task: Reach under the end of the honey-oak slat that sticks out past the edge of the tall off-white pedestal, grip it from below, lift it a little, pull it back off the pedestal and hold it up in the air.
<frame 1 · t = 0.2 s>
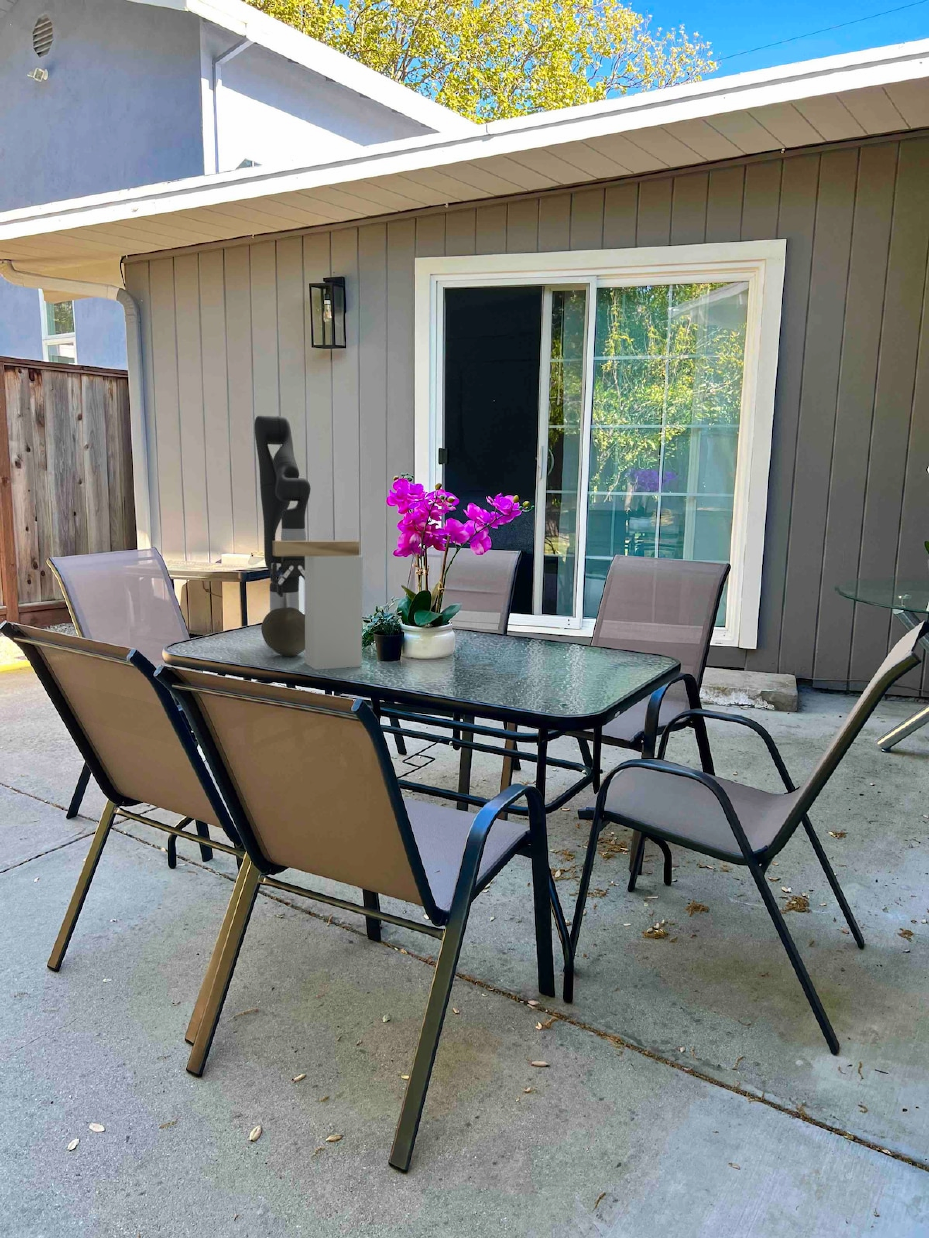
hand: (294, 596, 271), 17 cm above the table, tool pointing down, fingers open, 8 cm apart
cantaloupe: (286, 656, 266), on the table
pedestal: (333, 664, 256), on the table
oak slat: (316, 555, 248), point 32 cm above the table, touching pedestal
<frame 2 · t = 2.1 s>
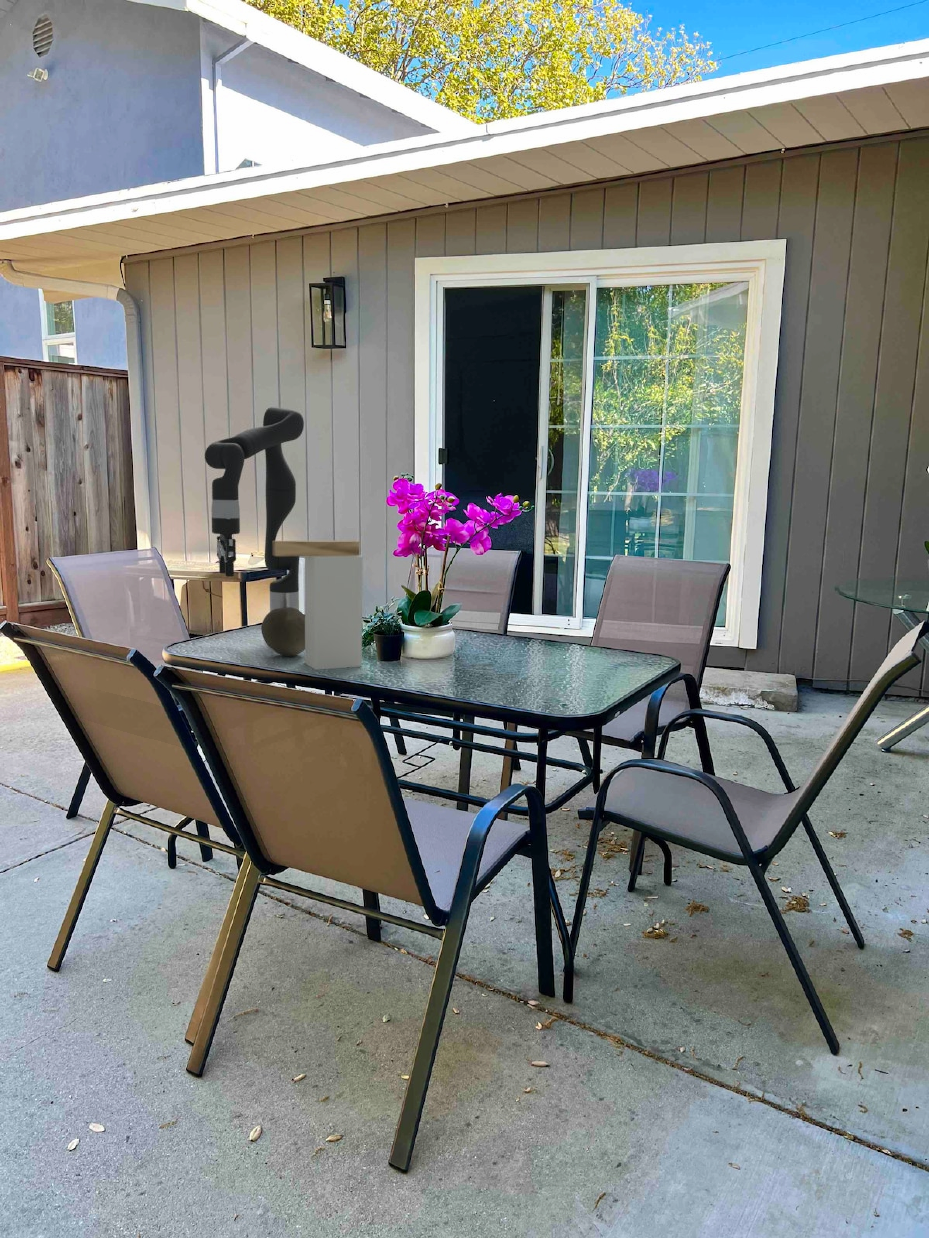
hand: (226, 574, 245), 26 cm above the table, tool pointing down, fingers open, 8 cm apart
nothing on the table moved.
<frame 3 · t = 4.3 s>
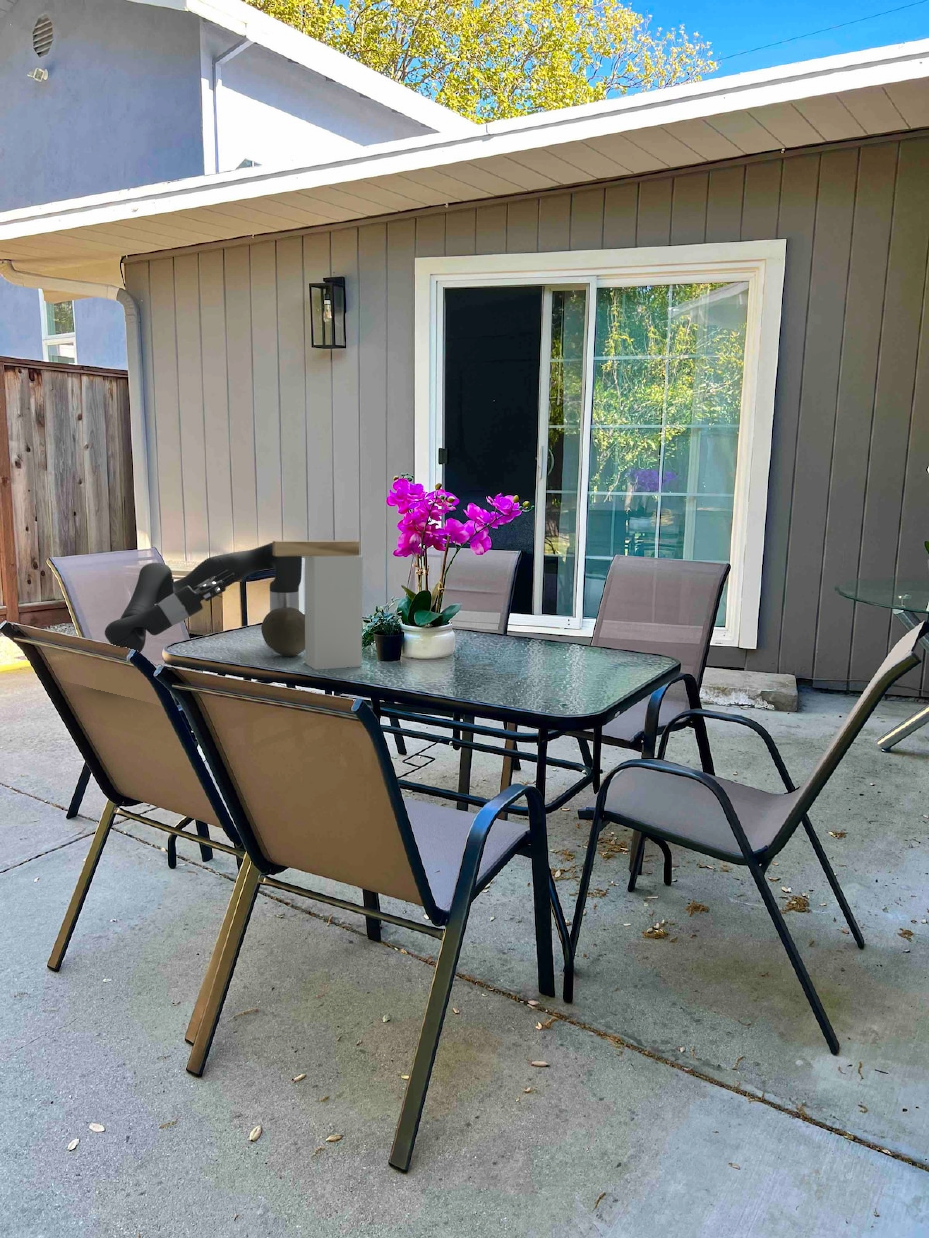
hand: (233, 574, 239), 27 cm above the table, tool pointing upward, fingers open, 8 cm apart
nothing on the table moved.
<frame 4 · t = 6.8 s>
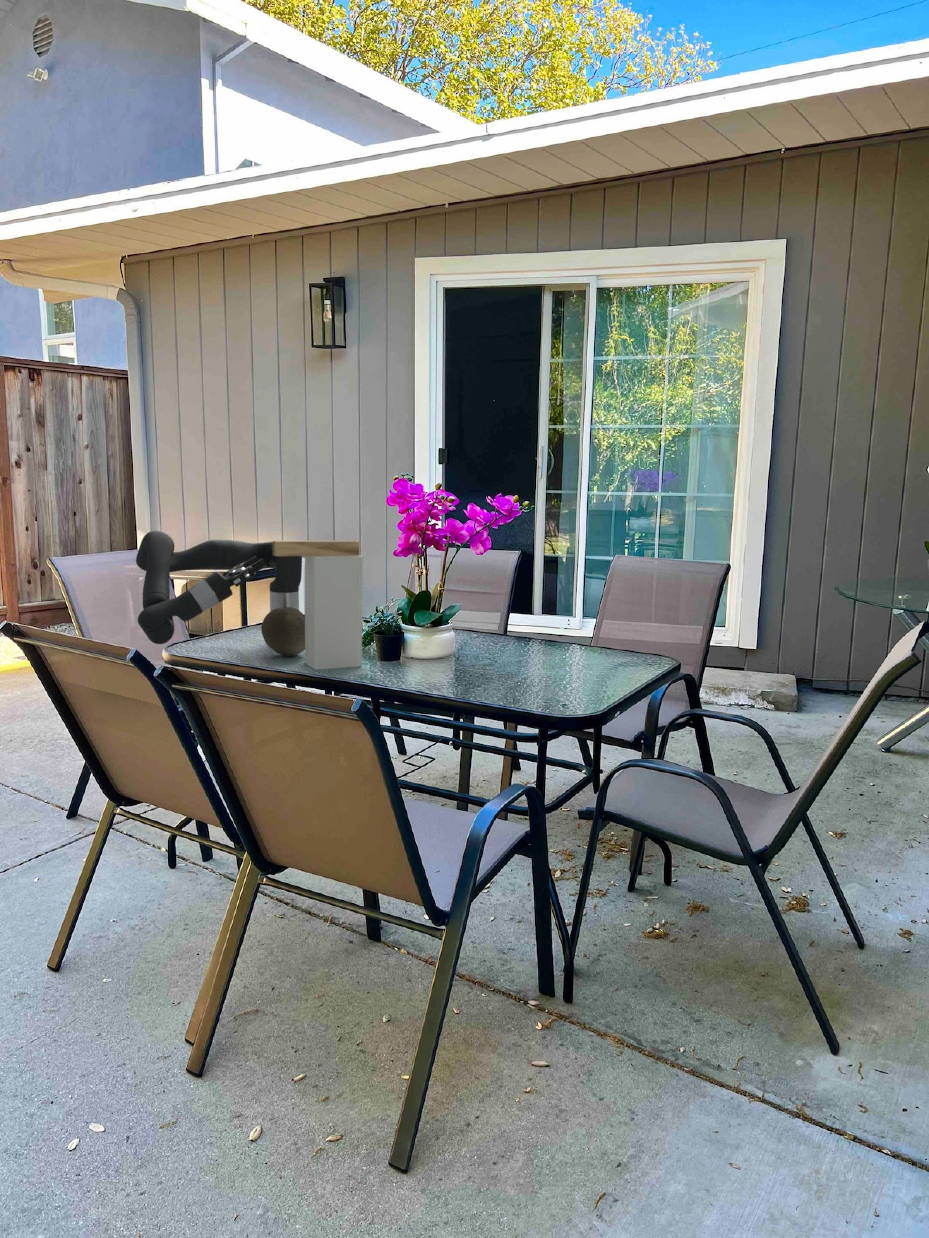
hand: (261, 560, 241), 31 cm above the table, tool pointing upward, fingers open, 8 cm apart
nothing on the table moved.
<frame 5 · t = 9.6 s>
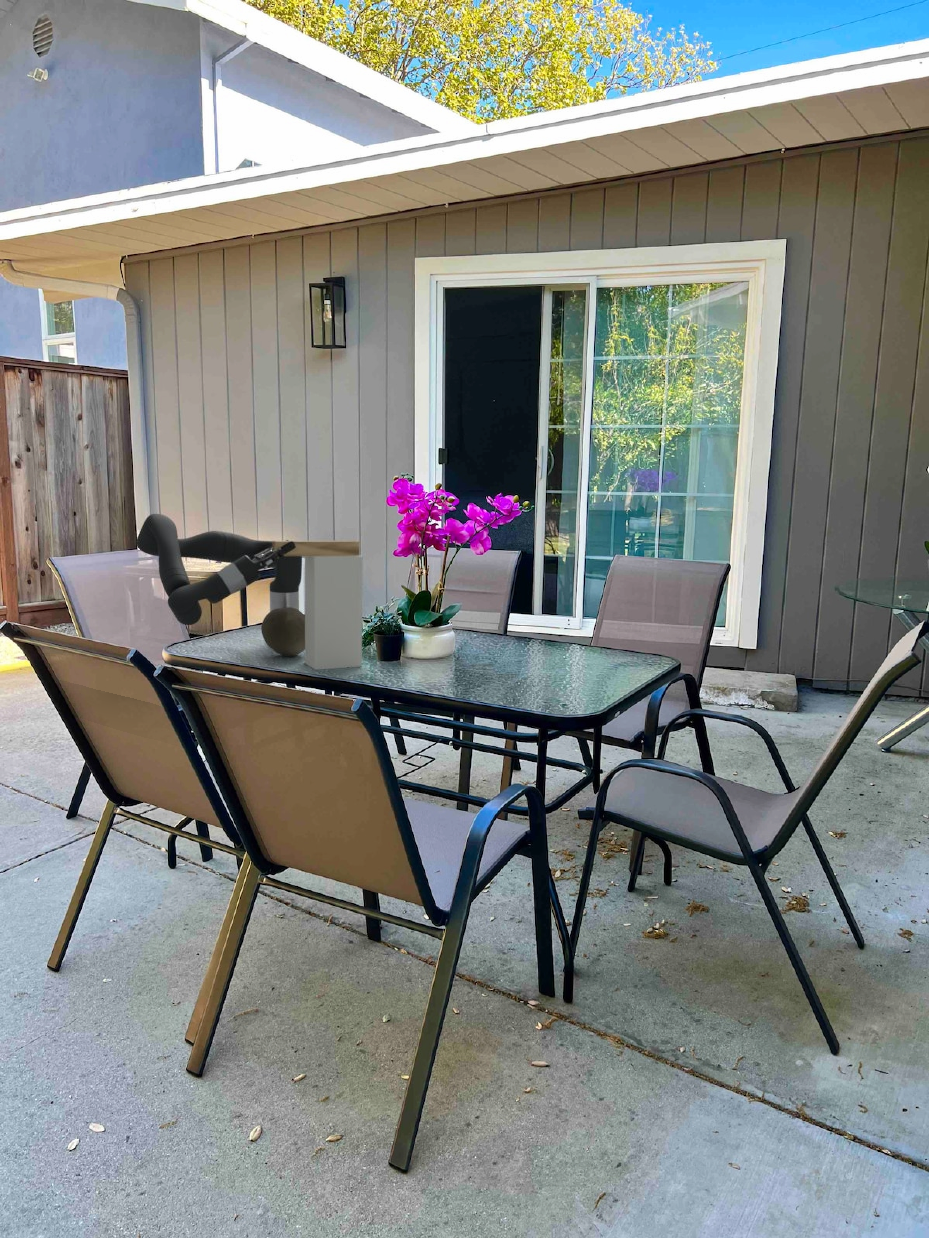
hand: (291, 543, 245), 35 cm above the table, tool pointing upward, fingers closed on oak slat, 4 cm apart
oak slat: (316, 555, 249), point 32 cm above the table, touching gripper, pedestal
everything else where it was.
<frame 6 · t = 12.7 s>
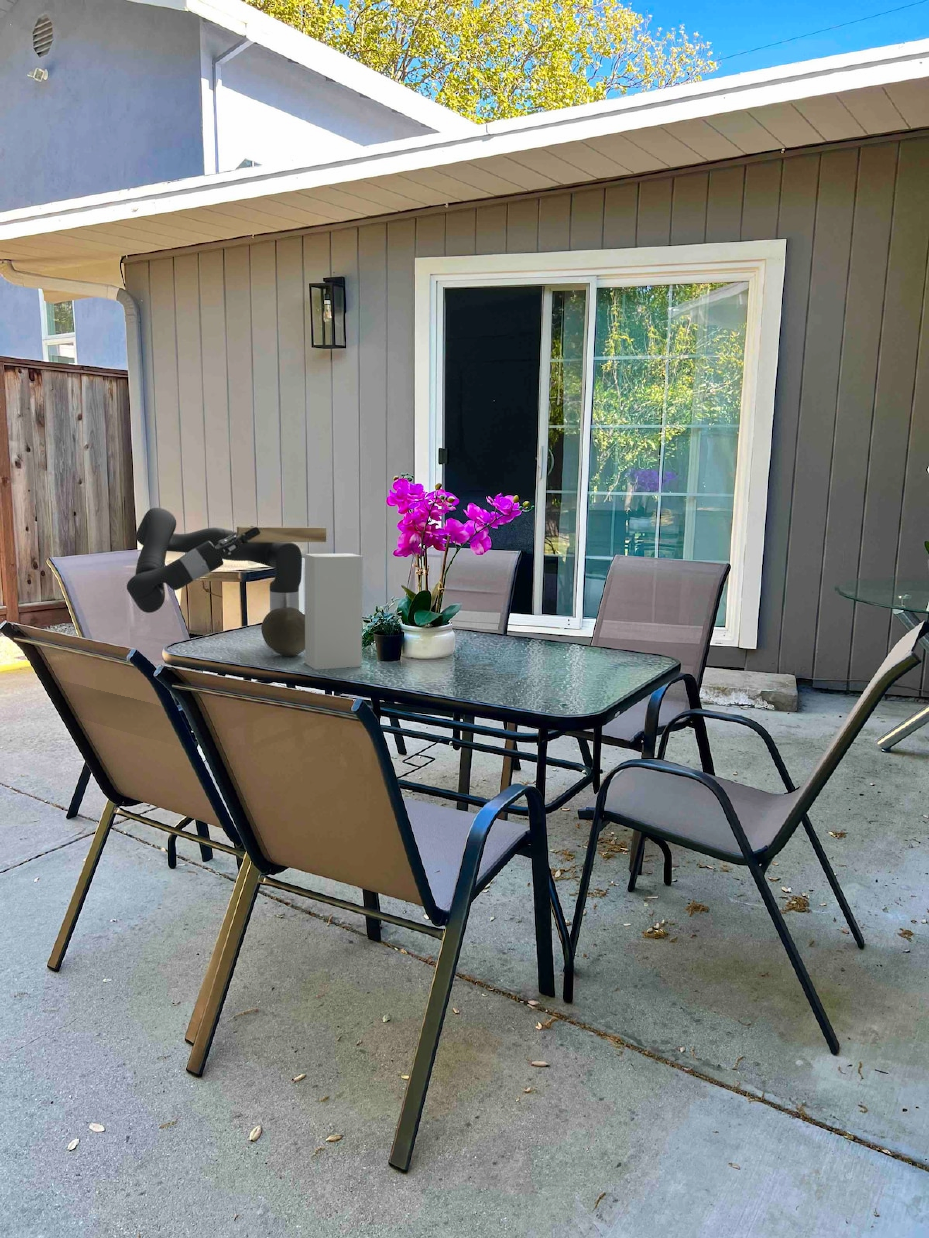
hand: (256, 529, 240), 39 cm above the table, tool pointing upward, fingers closed on oak slat, 4 cm apart
oak slat: (282, 541, 244), point 36 cm above the table, touching gripper
everything else where it was.
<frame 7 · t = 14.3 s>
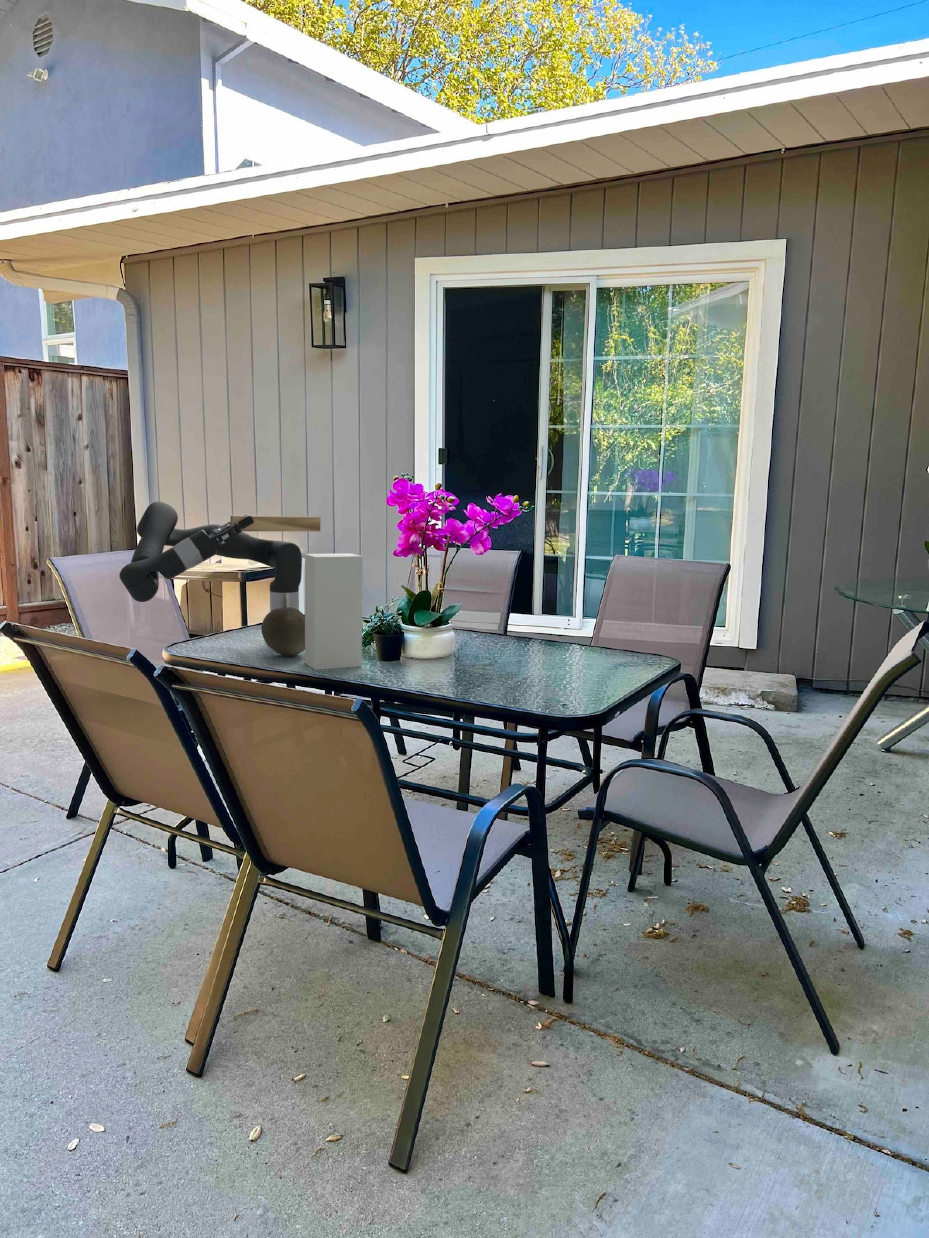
hand: (250, 518, 239), 42 cm above the table, tool pointing upward, fingers closed on oak slat, 4 cm apart
oak slat: (276, 531, 243), point 39 cm above the table, touching gripper
everything else where it was.
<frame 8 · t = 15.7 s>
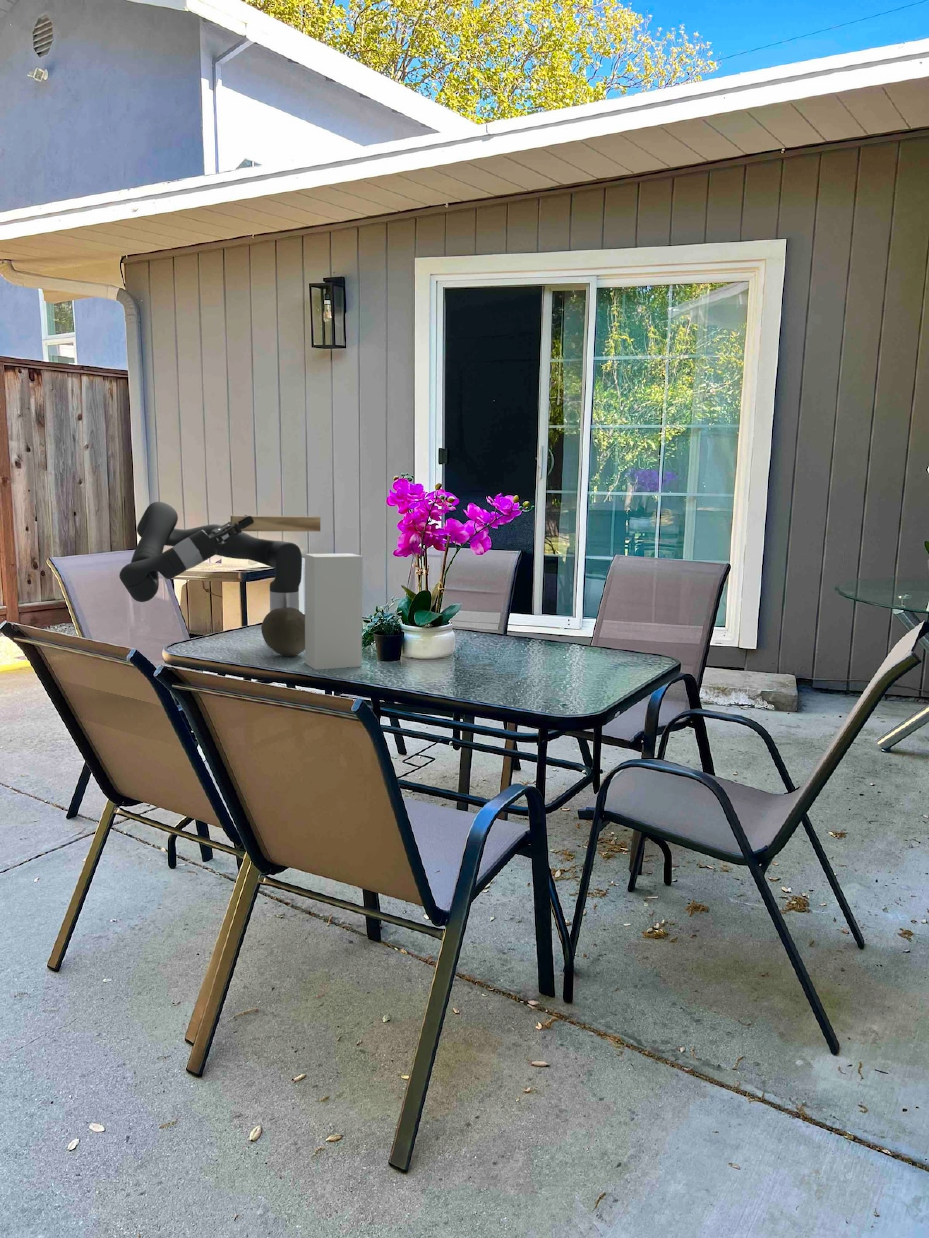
hand: (250, 518, 239), 42 cm above the table, tool pointing upward, fingers closed on oak slat, 4 cm apart
oak slat: (276, 531, 243), point 39 cm above the table, touching gripper
everything else where it was.
at the end: the gripper is holding oak slat; oak slat touching gripper; oak slat moved 13.3 cm from its start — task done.
